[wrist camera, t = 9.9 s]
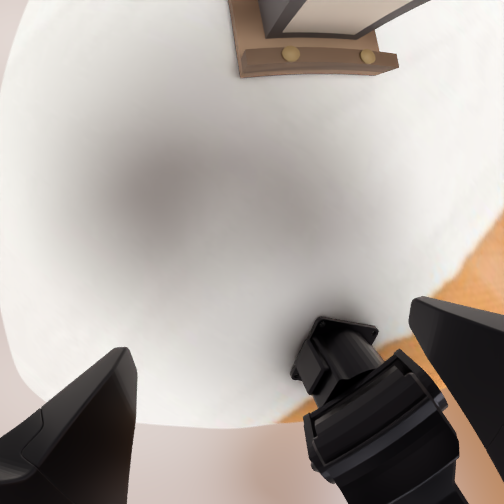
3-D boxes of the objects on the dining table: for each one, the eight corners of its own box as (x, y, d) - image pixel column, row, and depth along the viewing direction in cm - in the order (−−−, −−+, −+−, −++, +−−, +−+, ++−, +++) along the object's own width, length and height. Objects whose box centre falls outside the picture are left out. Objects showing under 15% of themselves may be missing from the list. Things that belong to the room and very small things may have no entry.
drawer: (375, 75, 18) (401, 66, 15) (240, 77, 17) (248, 63, 14) (354, -12, 16) (375, -30, 12) (225, -17, 15) (229, -43, 11)
